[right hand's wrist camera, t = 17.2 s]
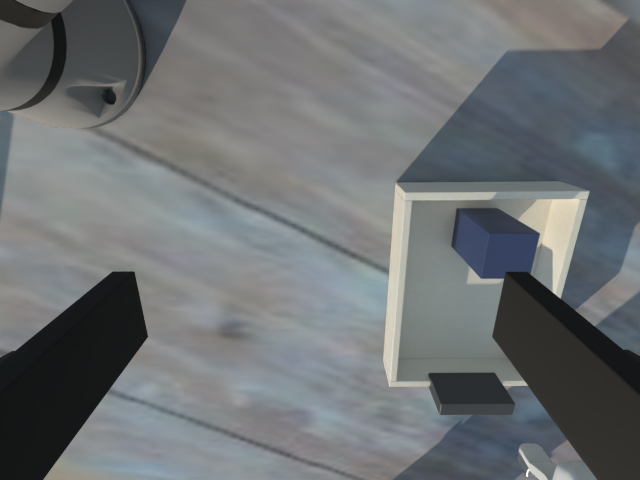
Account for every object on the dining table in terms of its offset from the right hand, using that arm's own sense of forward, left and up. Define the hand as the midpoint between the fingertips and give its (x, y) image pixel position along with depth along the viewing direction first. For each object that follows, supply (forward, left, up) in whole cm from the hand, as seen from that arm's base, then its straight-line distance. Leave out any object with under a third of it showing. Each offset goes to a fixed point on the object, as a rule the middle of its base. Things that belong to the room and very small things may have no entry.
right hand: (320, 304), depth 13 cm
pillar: (+6, +17, -26) cm, 32 cm away
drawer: (+13, +17, -27) cm, 34 cm away
